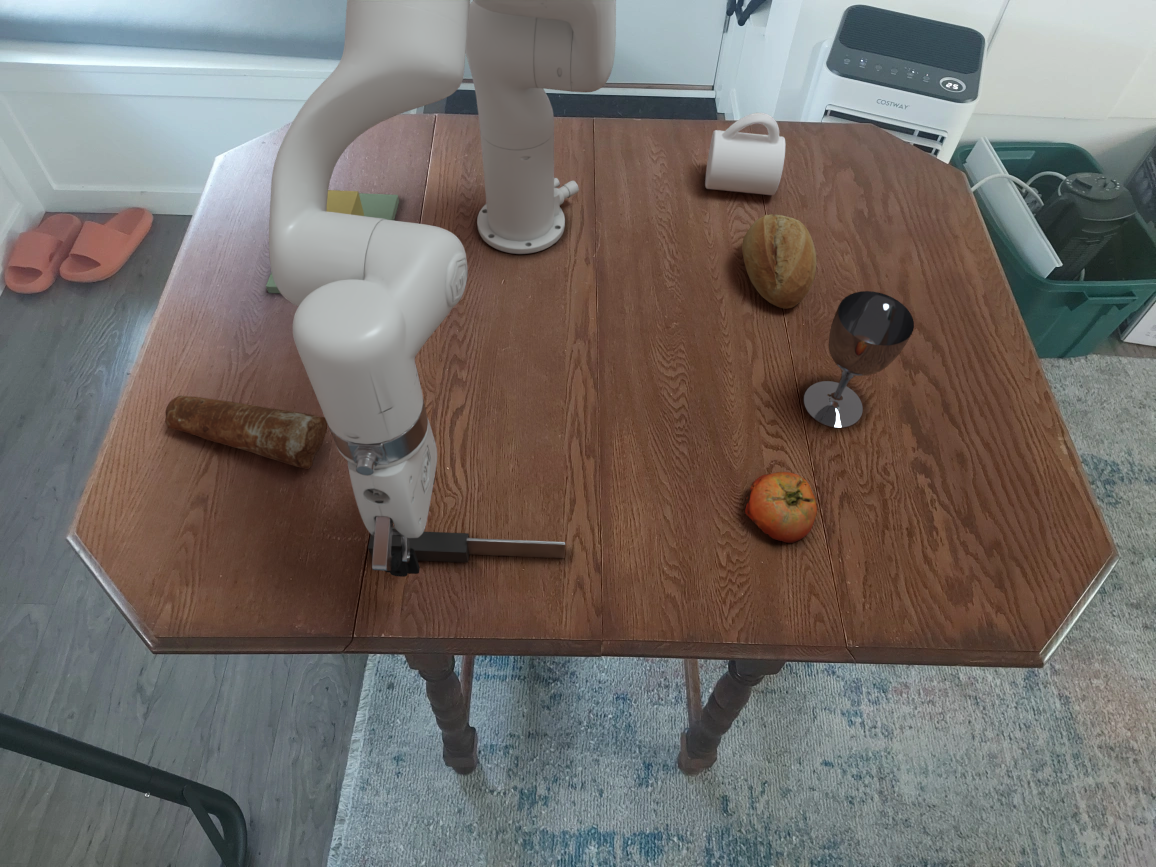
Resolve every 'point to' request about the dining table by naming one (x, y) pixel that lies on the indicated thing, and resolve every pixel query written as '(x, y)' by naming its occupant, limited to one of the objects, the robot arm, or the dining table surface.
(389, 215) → the butter board
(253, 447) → the bread
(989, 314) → the dining table surface
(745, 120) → the mug
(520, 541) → the knife
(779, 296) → the bread roll
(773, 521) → the tomato
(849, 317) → the wine glass
